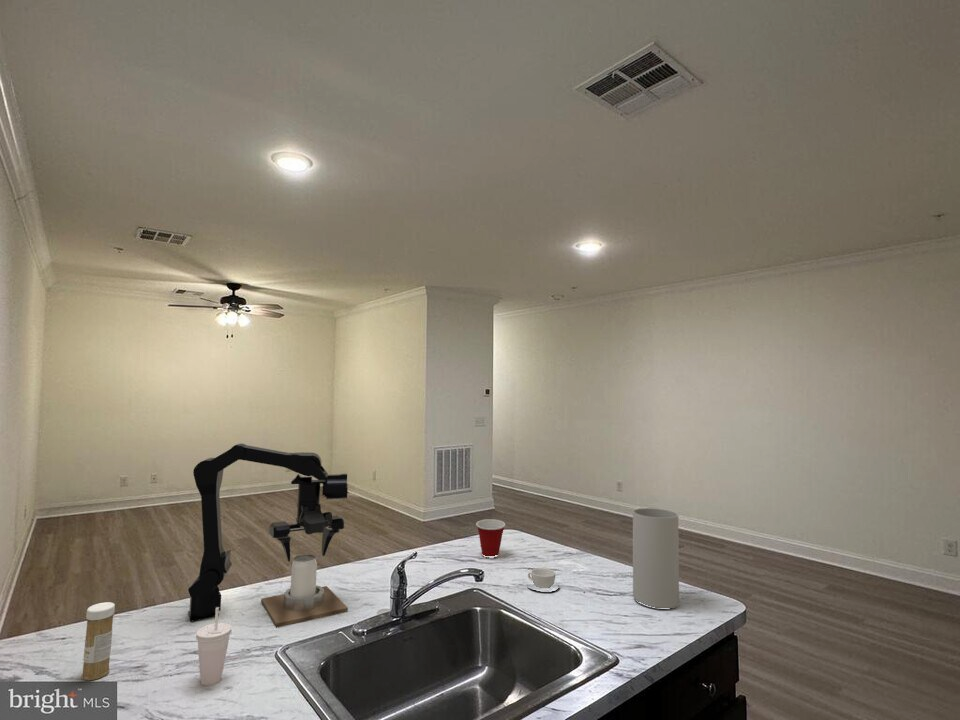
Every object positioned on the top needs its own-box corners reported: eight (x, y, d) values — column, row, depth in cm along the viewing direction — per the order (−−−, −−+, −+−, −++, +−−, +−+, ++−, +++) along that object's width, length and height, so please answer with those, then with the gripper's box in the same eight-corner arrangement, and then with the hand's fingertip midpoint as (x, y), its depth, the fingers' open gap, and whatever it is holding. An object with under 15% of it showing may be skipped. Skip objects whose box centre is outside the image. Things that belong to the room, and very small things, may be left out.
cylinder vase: (664, 614, 135) (664, 520, 137) (624, 600, 145) (624, 511, 147) (687, 603, 144) (686, 514, 145) (647, 590, 153) (647, 506, 155)
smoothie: (204, 693, 95) (208, 616, 96) (185, 682, 99) (190, 608, 100) (235, 677, 101) (240, 605, 102) (217, 668, 104) (221, 598, 105)
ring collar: (289, 613, 128) (289, 601, 129) (279, 600, 137) (280, 589, 137) (328, 605, 134) (328, 594, 134) (316, 593, 142) (317, 582, 142)
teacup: (564, 586, 155) (564, 570, 155) (551, 596, 147) (551, 580, 147) (535, 579, 160) (535, 564, 161) (520, 589, 152) (521, 573, 152)
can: (305, 609, 131) (308, 562, 132) (284, 606, 133) (286, 559, 134) (319, 600, 137) (321, 555, 138) (299, 597, 139) (301, 552, 140)
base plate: (276, 627, 123) (276, 623, 123) (260, 602, 138) (261, 598, 138) (347, 611, 133) (347, 607, 133) (326, 589, 148) (326, 586, 148)
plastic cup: (472, 560, 178) (473, 525, 179) (477, 551, 188) (478, 518, 189) (503, 562, 176) (503, 527, 177) (506, 553, 187) (507, 520, 188)
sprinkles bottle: (78, 675, 100) (84, 606, 101) (106, 666, 104) (111, 599, 105) (84, 684, 97) (90, 612, 98) (112, 674, 101) (118, 605, 102)
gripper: (280, 509, 126) (277, 573, 124) (352, 501, 136) (350, 560, 135) (270, 501, 135) (267, 561, 134) (338, 494, 145) (336, 550, 144)
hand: (306, 558), depth 136 cm, fingers open, 9 cm apart
